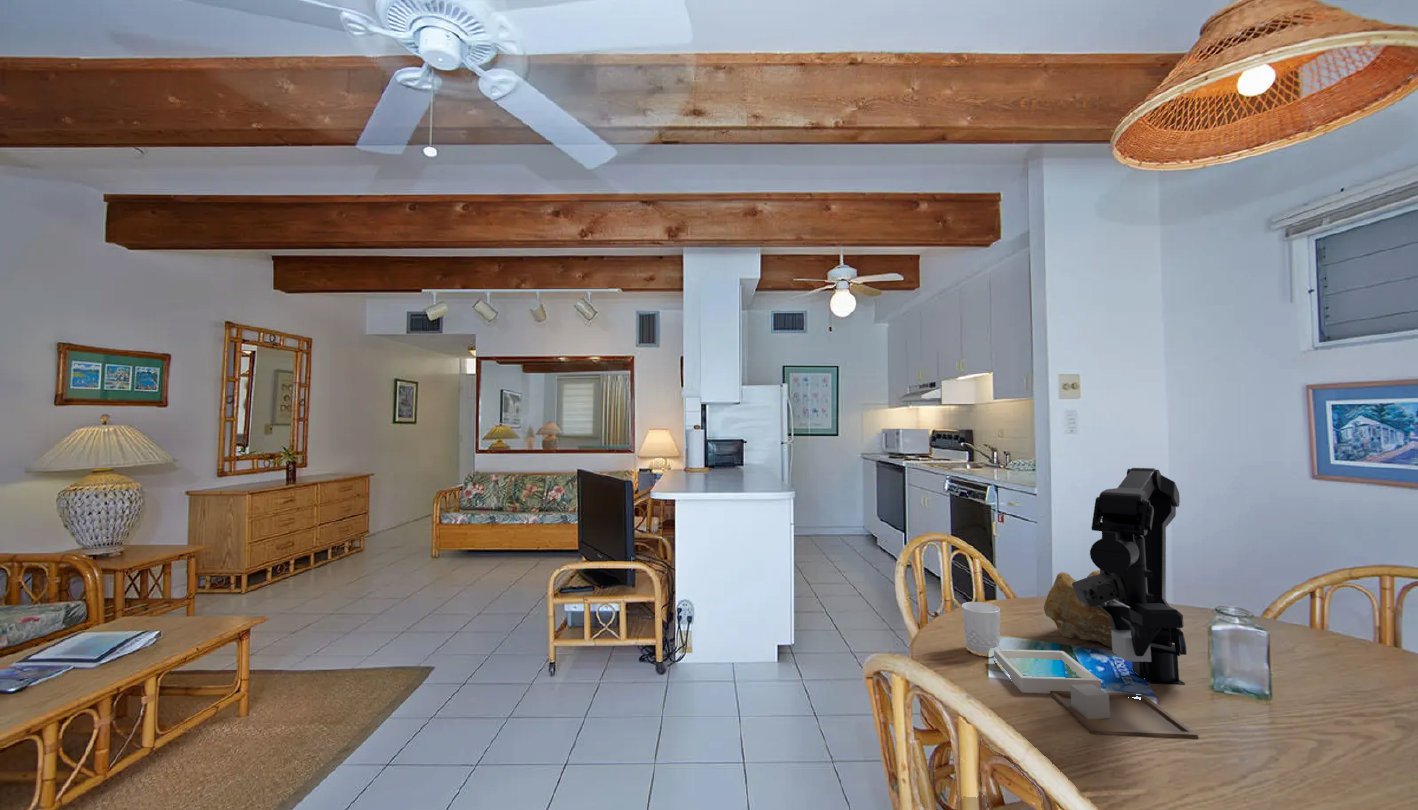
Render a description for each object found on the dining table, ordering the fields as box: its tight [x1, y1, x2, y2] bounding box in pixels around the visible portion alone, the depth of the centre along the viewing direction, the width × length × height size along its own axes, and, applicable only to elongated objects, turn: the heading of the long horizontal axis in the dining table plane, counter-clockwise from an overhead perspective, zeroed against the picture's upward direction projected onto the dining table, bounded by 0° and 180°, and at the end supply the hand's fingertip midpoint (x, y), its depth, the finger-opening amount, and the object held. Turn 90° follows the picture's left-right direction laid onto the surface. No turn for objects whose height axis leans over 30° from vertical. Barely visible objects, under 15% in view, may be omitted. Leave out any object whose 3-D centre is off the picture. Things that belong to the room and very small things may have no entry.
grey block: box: [1111, 630, 1151, 662], centre depth 99 cm, size 4×4×4 cm
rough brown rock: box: [1043, 570, 1114, 648], centre depth 133 cm, size 23×17×15 cm
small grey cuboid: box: [1070, 684, 1110, 719], centre depth 98 cm, size 4×4×4 cm
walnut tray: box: [1049, 691, 1199, 739], centre depth 97 cm, size 16×14×1 cm
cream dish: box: [993, 648, 1102, 695], centre depth 112 cm, size 14×14×3 cm
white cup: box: [961, 601, 1001, 654], centre depth 127 cm, size 8×8×10 cm
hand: (1131, 650), depth 99 cm, fingers closed on grey block, 4 cm apart
